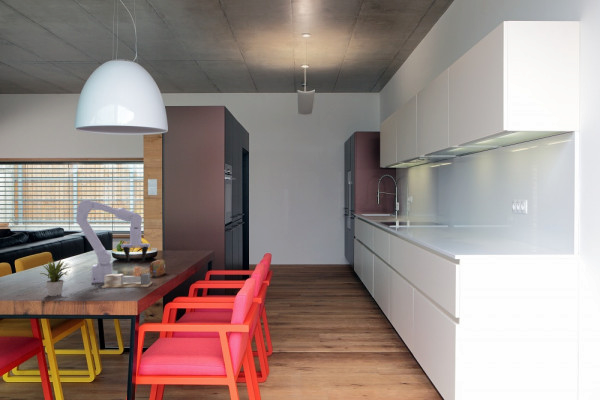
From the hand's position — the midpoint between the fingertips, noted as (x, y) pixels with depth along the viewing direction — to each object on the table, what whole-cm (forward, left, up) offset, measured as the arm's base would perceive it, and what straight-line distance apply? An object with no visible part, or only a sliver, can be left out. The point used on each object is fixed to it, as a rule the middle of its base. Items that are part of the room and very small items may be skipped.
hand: (135, 261), depth 253 cm
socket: (+8, -16, -10) cm, 21 cm away
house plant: (-27, -37, -10) cm, 47 cm away
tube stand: (-1, -16, -10) cm, 19 cm away
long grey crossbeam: (+2, -16, -8) cm, 18 cm away
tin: (+9, +14, -10) cm, 20 cm away
